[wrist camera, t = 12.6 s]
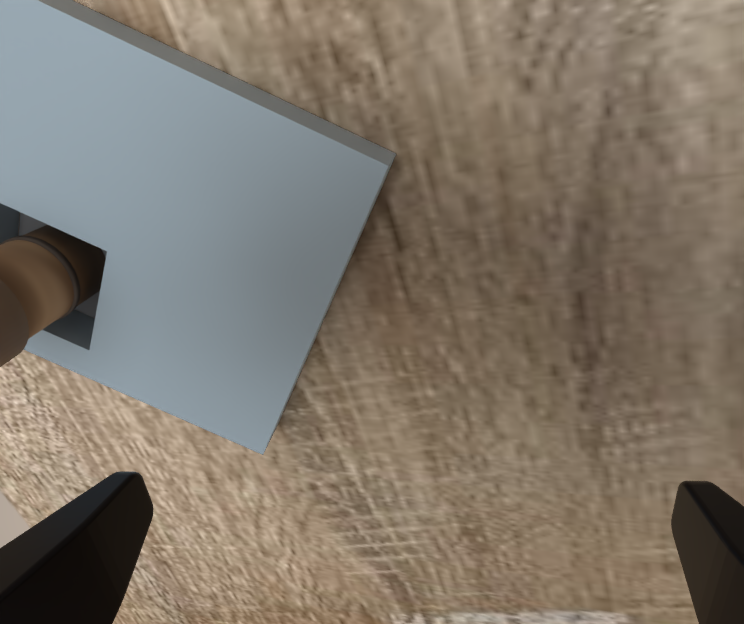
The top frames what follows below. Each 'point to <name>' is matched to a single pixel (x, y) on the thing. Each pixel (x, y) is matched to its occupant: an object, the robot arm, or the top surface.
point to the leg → (43, 283)
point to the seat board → (178, 214)
